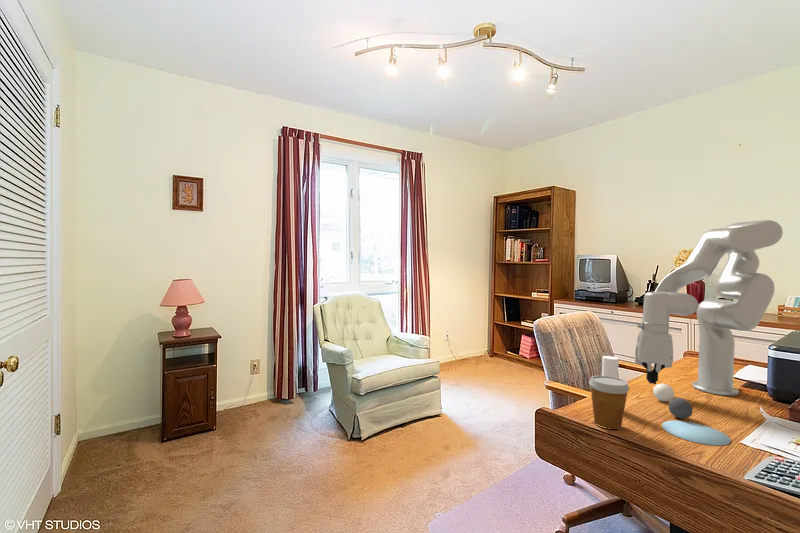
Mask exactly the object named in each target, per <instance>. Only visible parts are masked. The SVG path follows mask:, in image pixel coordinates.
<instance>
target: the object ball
mask: <svg viewBox="0 0 800 533" xmlns="http://www.w3.org/2000/svg"><path fill="white" fill-rule="evenodd" d="M668 410H669V412H670V414H671V415H673V417H675V418H677V419H681V420H682V419H684V420H685V419H688V418H690V417H691V416H692V415H693V411H694V410H693V406H692V404H691V403H690V402H689V401H688V400H687V399H685V398H682V397H681V398H680V397H675V398H673V399H672V400H671V401H669V402H668Z"/></svg>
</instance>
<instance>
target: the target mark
mask: <svg viewBox="0 0 800 533" xmlns="http://www.w3.org/2000/svg"><path fill="white" fill-rule="evenodd" d="M661 426H662V429H663V430H664V431H666V432H667V433H669V434H670V435H671V436H675V437H677V438H679V439H683V440H685V441H689V442H692V443H696V444H702V445H707V446H719V447H720V446H727V445H730V443H731V438H730V437H729V436H728V435H727V434H725V433H724V432H723V431H720V430H719V429H718V430H717V429H715V428H712V427H711V426H708V425H704V424H700V423H695V422H690V421H684V420H683V421H682V420H667V421H664V422H663V423H662V425H661Z"/></svg>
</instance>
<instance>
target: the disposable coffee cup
mask: <svg viewBox="0 0 800 533" xmlns="http://www.w3.org/2000/svg"><path fill="white" fill-rule="evenodd" d="M588 384H589V387H590V392H591V395H590V396H591V402H592V412H593V423H594V422H595V423H596V424H598V425H600V426H603V427H606V428H610V429H619V430H621V429H622V424H623V419H624V414H625V407H626V401H627V396H628V392H629V390H630V389H631V388H630V387H629V385H628V382H627V380H624V379H622V378H619V377H618V378H615V377H610V376H602V375H593V376H591V377H590V380H589V381H588ZM595 423H594V424H595ZM596 424H595V425H596ZM620 428H621V429H620Z"/></svg>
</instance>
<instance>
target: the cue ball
mask: <svg viewBox="0 0 800 533" xmlns="http://www.w3.org/2000/svg"><path fill="white" fill-rule="evenodd" d="M652 392H653V393H652V394H653V395H654V397H655V398H656V399H657V400H658V401H660V402H664V403H667V402H668V403H669V402H670V401H671V400H672V399H674V397H675V392H674V389H673V387H672V386H671V385H669V384H666V383H663V382H662V383H658V384H657V383H656V384H655V386H653V390H652Z"/></svg>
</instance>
